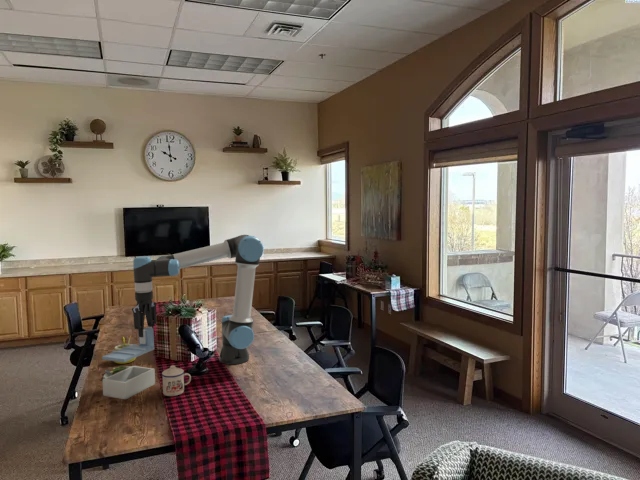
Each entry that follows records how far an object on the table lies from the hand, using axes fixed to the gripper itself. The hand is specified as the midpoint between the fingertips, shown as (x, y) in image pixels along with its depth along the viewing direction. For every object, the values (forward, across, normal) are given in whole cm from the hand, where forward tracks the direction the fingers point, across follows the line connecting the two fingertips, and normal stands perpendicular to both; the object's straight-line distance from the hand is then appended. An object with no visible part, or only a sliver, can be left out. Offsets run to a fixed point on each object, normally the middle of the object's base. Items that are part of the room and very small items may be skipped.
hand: (146, 342), depth 221 cm
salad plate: (+18, -1, -15) cm, 24 cm away
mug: (+18, -19, -30) cm, 40 cm away
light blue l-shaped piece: (+3, +9, 0) cm, 9 cm away
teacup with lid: (+18, +6, +21) cm, 28 cm away
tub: (+18, +11, 0) cm, 21 cm away
